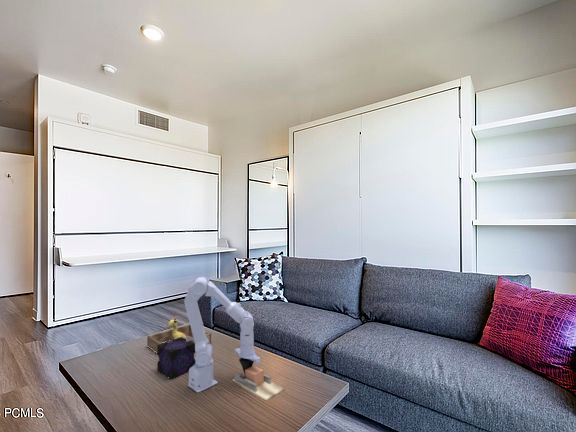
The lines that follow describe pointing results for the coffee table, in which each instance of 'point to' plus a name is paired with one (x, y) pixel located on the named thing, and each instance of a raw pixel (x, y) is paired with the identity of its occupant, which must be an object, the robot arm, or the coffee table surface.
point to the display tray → (167, 335)
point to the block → (255, 375)
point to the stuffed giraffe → (174, 332)
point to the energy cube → (175, 357)
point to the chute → (259, 386)
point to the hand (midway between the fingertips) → (247, 374)
